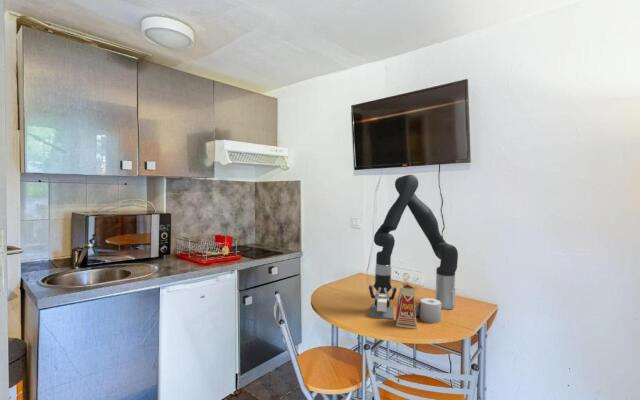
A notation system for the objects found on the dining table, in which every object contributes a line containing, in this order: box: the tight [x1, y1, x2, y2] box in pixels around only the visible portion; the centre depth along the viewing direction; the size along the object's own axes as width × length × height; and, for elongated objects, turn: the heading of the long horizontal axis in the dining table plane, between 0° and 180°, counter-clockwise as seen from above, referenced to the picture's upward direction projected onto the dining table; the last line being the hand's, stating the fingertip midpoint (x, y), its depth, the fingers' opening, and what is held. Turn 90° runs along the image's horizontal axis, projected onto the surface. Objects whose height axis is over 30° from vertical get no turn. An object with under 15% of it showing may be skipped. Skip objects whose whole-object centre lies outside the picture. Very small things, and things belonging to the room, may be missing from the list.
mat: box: [369, 304, 395, 321], centre depth 160 cm, size 15×11×1 cm
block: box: [377, 293, 387, 312], centre depth 159 cm, size 4×4×12 cm
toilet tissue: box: [415, 297, 442, 324], centre depth 152 cm, size 9×13×9 cm
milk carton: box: [395, 280, 418, 330], centre depth 147 cm, size 9×9×20 cm
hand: (382, 306), depth 160 cm, fingers closed on block, 4 cm apart
